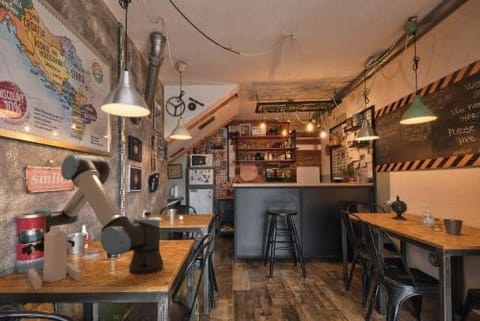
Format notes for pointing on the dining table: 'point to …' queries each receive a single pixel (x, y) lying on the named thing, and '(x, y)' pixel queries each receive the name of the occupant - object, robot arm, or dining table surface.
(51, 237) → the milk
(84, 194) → the robot arm
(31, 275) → the brown piece
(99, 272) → the dining table surface
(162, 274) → the dining table surface
